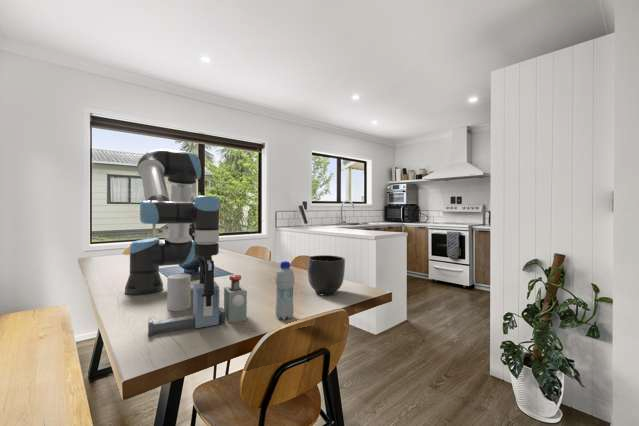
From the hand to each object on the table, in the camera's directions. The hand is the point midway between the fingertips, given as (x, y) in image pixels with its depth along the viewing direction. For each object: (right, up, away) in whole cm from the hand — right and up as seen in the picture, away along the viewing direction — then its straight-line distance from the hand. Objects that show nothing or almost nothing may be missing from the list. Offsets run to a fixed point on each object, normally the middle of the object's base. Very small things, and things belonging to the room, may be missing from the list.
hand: (206, 311), depth 102 cm
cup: (-16, -4, +16) cm, 23 cm away
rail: (-5, -4, -3) cm, 7 cm away
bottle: (+25, -5, +7) cm, 27 cm away
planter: (+40, -4, +40) cm, 57 cm away
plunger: (+8, +2, +7) cm, 10 cm away
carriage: (0, -4, 0) cm, 4 cm away
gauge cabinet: (+8, -4, +7) cm, 11 cm away
